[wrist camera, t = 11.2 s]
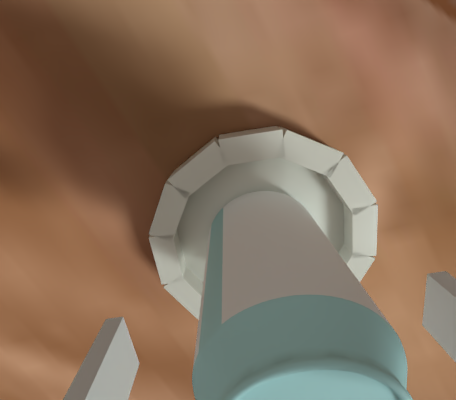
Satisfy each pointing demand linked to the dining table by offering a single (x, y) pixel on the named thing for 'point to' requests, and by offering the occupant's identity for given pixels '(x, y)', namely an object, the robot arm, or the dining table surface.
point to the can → (288, 313)
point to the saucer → (251, 182)
